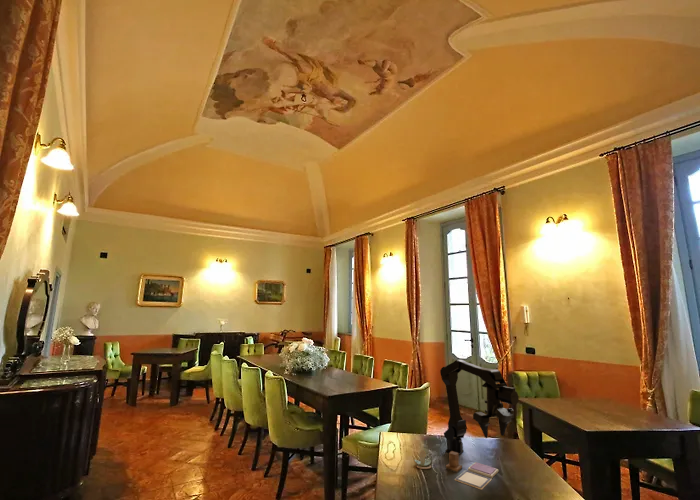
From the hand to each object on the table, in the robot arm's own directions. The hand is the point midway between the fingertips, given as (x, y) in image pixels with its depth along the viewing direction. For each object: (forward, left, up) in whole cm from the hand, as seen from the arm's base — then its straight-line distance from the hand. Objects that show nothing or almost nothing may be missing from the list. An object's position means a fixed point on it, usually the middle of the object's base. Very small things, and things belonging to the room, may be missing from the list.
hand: (494, 436), depth 155 cm
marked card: (-3, -16, -13) cm, 21 cm away
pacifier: (-24, -19, -14) cm, 34 cm away
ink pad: (-3, -5, -13) cm, 15 cm away
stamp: (-13, -12, -13) cm, 23 cm away
